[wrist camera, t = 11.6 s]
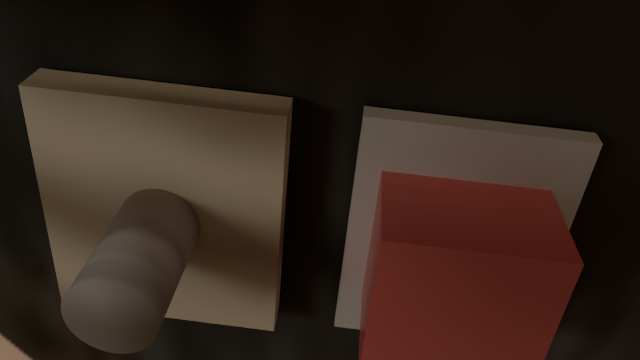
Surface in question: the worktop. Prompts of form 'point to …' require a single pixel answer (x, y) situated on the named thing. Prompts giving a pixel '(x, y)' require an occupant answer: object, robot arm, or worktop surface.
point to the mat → (455, 171)
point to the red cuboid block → (464, 271)
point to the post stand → (159, 202)
